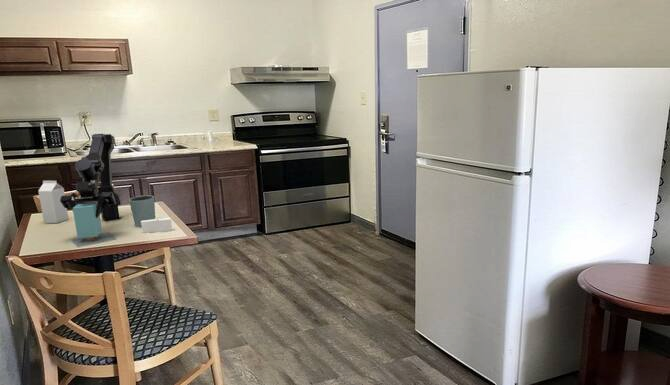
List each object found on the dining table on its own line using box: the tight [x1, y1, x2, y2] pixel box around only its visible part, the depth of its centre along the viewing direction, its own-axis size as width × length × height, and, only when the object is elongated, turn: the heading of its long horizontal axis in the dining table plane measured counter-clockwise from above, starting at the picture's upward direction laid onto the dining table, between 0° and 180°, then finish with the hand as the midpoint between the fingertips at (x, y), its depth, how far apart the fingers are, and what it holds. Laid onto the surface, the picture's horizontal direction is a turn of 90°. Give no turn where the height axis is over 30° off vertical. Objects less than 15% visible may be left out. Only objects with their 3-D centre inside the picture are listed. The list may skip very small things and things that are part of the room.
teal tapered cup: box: [128, 194, 156, 228], centre depth 200 cm, size 10×10×12 cm
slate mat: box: [70, 231, 118, 248], centre depth 182 cm, size 14×13×1 cm
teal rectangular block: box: [72, 202, 103, 239], centre depth 181 cm, size 7×7×12 cm
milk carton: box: [37, 180, 70, 224], centre depth 212 cm, size 7×7×19 cm
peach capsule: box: [85, 237, 96, 241], centre depth 182 cm, size 4×4×4 cm
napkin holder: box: [140, 217, 173, 234], centre depth 190 cm, size 15×11×6 cm
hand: (86, 218), depth 179 cm, fingers closed on teal rectangular block, 7 cm apart
